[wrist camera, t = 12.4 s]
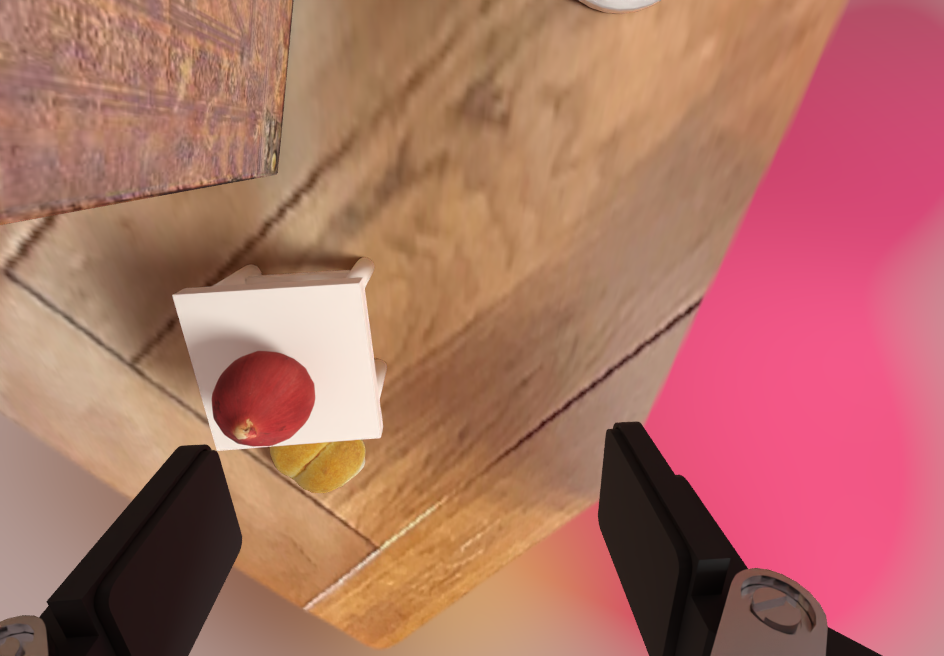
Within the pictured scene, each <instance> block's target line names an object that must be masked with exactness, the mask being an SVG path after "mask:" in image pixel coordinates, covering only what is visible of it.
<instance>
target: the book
mask: <svg viewBox="0 0 944 656" xmlns="http://www.w3.org/2000/svg"><path fill="white" fill-rule="evenodd" d="M292 11H293V0H0V225H3V224H8V223H14V222H19V221H25V220H30V219H36V218H41V217H47V216H52V215H58V214H63V213H69V212H74V211H79V210H85V209H90V208H96V207H101V206H107V205H112V204H118V203H123V202H129V201H134V200H140V199H145V198H151V197H156V196H162V195H167V194H172V193H178V192H183V191H189V190H194V189H200V188H205V187H211V186H216V185H222V184H227V183H233V182H238V181H244V180H249V179H254V178H260V177H265V176H271V175H276V174H277V173H278V164H279V153H280V142H281V131H282V120H283V109H284V98H285V88H286V77H287V66H288V55H289V44H290V33H291V22H292Z"/></svg>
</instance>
